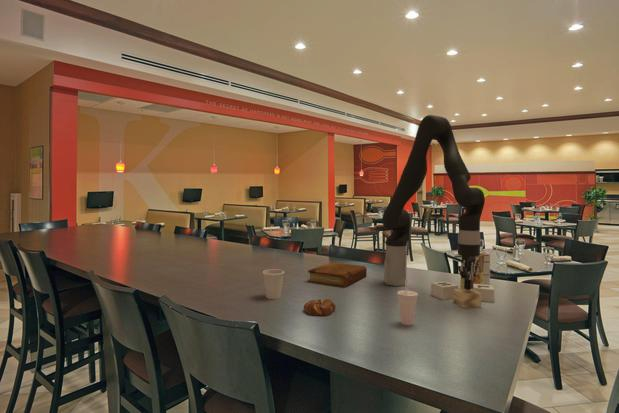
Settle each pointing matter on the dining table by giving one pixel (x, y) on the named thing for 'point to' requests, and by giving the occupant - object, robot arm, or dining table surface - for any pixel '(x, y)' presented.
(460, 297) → the plain block
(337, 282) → the diary
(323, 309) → the brown braided bread bun
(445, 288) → the marked block
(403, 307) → the smoothie
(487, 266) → the syrup box
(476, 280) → the candy box
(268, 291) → the dixie cup
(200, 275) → the dining table surface
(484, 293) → the marked block
